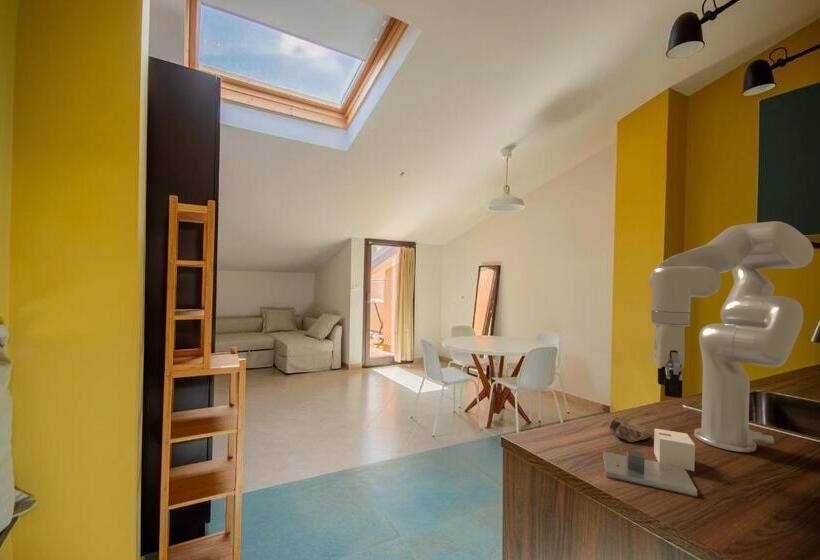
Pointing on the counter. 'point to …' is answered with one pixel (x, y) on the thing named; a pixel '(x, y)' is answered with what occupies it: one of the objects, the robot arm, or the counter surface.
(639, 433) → the rock
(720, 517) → the counter surface
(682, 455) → the orange-striped white cube
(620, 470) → the plate
